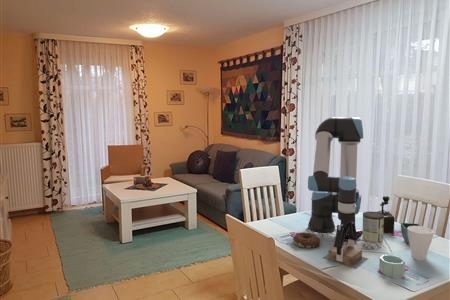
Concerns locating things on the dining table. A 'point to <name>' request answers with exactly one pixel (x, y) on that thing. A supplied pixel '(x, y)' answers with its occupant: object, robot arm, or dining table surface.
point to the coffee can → (373, 227)
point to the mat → (346, 264)
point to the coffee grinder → (387, 217)
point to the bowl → (392, 266)
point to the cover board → (347, 254)
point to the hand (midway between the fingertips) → (345, 256)
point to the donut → (306, 240)
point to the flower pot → (404, 230)
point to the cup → (419, 241)
